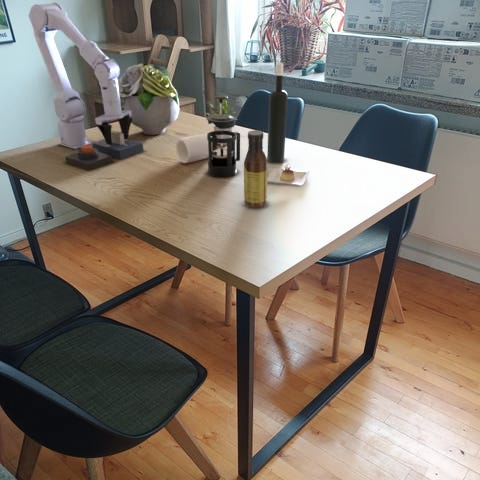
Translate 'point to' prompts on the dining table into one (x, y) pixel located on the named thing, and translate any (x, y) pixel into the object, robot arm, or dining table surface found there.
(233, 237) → the dining table surface
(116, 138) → the grey rectangular block
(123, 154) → the dial panel
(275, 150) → the wine bottle
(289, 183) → the dessert
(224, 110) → the house plant
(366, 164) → the dining table surface
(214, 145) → the french press
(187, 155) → the mug
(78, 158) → the button base
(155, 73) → the flower arrangement
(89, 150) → the button
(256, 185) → the sauce bottle
